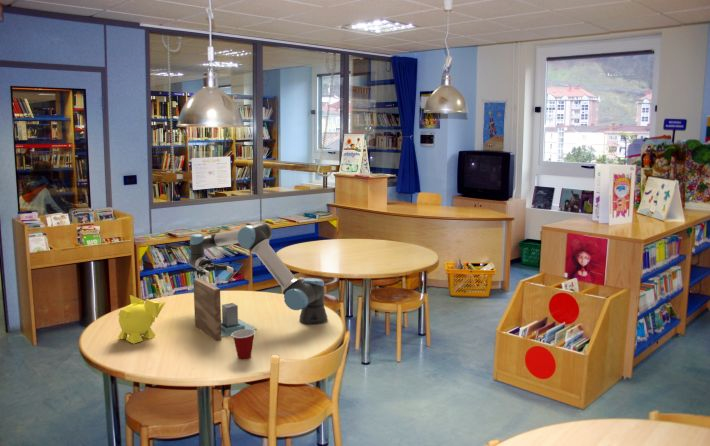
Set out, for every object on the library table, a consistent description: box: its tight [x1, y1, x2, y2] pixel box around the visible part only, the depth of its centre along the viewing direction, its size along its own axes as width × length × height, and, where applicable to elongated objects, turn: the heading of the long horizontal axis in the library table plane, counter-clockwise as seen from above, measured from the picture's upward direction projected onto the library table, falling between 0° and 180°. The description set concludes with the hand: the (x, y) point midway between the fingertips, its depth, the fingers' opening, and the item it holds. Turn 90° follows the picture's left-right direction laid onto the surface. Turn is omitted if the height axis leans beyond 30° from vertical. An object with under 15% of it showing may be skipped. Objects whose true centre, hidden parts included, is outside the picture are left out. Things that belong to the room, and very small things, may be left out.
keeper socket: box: [221, 318, 257, 338], centre depth 321 cm, size 20×20×2 cm
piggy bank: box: [117, 294, 166, 345], centre depth 305 cm, size 20×20×19 cm
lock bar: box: [221, 302, 239, 328], centre depth 320 cm, size 6×6×12 cm
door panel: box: [192, 277, 223, 341], centre depth 311 cm, size 4×26×26 cm, turn 37°
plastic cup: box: [230, 329, 256, 360], centre depth 280 cm, size 11×11×12 cm
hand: (221, 272), depth 324 cm, fingers open, 13 cm apart
